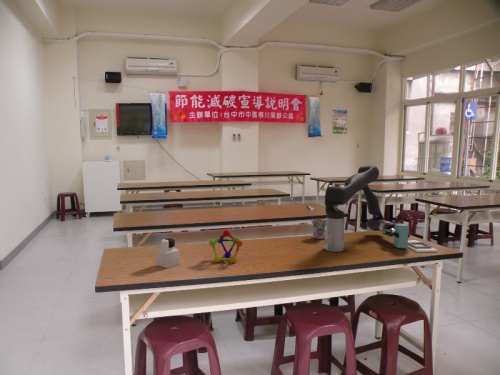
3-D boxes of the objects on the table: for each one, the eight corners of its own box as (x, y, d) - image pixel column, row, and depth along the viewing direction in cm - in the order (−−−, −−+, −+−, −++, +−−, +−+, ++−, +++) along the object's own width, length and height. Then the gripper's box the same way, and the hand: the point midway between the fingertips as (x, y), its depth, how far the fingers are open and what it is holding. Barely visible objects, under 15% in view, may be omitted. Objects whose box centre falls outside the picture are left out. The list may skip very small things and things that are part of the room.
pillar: (398, 248, 183) (399, 225, 181) (393, 245, 188) (394, 223, 186) (407, 248, 183) (408, 225, 182) (402, 245, 188) (403, 223, 187)
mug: (329, 239, 205) (330, 221, 204) (315, 240, 202) (316, 222, 200) (319, 234, 216) (319, 217, 215) (306, 235, 213) (306, 218, 212)
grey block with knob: (169, 261, 164) (169, 236, 162) (179, 264, 159) (179, 239, 158) (157, 265, 158) (156, 239, 157) (167, 268, 154) (166, 242, 152)
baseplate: (417, 252, 178) (417, 248, 178) (397, 242, 198) (398, 238, 198) (437, 252, 179) (438, 248, 178) (416, 241, 199) (416, 238, 198)
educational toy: (238, 257, 174) (241, 227, 172) (241, 265, 161) (244, 234, 159) (207, 255, 172) (210, 225, 170) (207, 263, 159) (210, 231, 157)
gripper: (376, 222, 198) (390, 229, 181) (401, 222, 199) (417, 228, 182) (376, 235, 199) (390, 243, 182) (400, 235, 200) (416, 242, 183)
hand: (403, 235), depth 182 cm, fingers closed on pillar, 5 cm apart
